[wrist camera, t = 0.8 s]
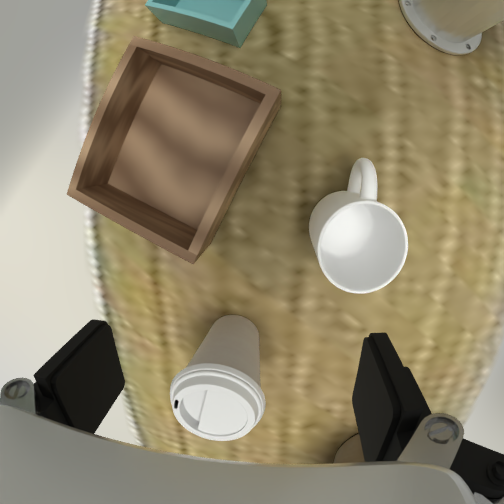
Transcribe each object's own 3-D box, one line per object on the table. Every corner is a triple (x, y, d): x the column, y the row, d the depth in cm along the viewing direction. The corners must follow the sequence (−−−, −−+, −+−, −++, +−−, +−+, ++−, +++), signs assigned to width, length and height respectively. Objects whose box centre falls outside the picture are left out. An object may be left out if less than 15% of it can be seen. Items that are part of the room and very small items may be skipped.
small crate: (189, -17, 29) (176, -40, 23) (267, 5, 29) (264, -19, 23) (163, 23, 31) (145, 5, 25) (240, 48, 31) (232, 29, 25)
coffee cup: (225, 289, 39) (195, 358, 25) (285, 331, 40) (285, 412, 26) (186, 338, 42) (148, 412, 28) (242, 375, 43) (226, 456, 28)
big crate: (161, 57, 32) (133, 36, 24) (281, 105, 33) (281, 89, 25) (103, 186, 37) (66, 194, 29) (210, 243, 38) (193, 264, 30)
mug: (318, 151, 34) (333, 147, 24) (387, 165, 33) (424, 168, 23) (302, 254, 37) (309, 287, 27) (368, 264, 37) (395, 298, 27)
